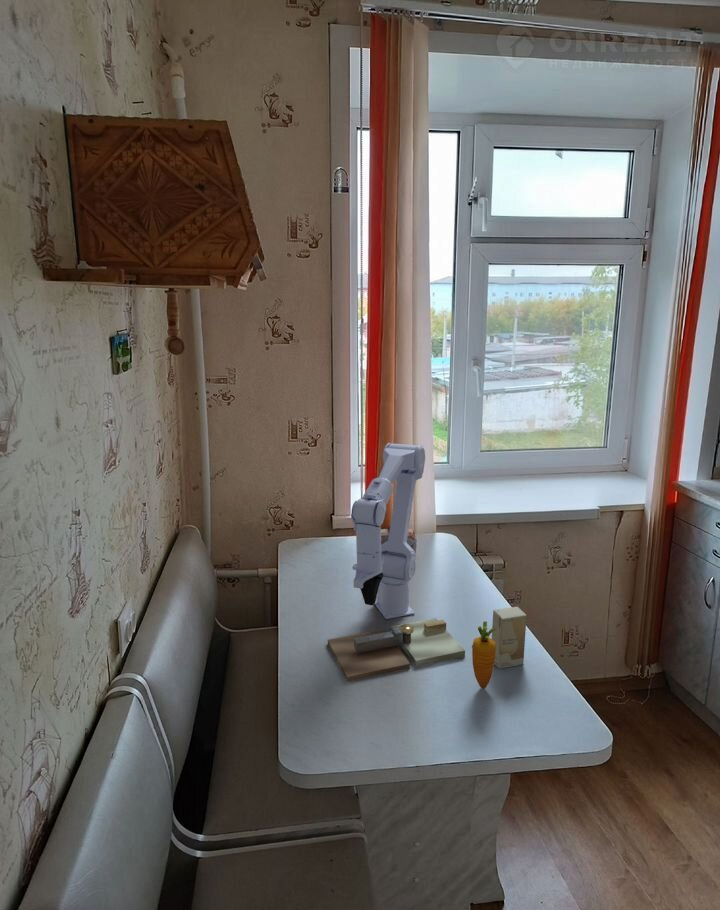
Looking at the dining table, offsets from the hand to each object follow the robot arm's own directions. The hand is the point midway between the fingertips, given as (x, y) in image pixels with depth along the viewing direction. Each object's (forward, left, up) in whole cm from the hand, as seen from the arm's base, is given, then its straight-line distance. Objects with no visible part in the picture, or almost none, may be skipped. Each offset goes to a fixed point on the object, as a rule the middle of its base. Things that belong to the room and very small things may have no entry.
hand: (370, 603), depth 148 cm
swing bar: (+6, +1, -8) cm, 10 cm away
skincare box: (+19, +26, -10) cm, 34 cm away
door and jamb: (+6, +4, -10) cm, 12 cm away
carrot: (+26, +16, -10) cm, 32 cm away
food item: (-46, +24, -10) cm, 53 cm away
